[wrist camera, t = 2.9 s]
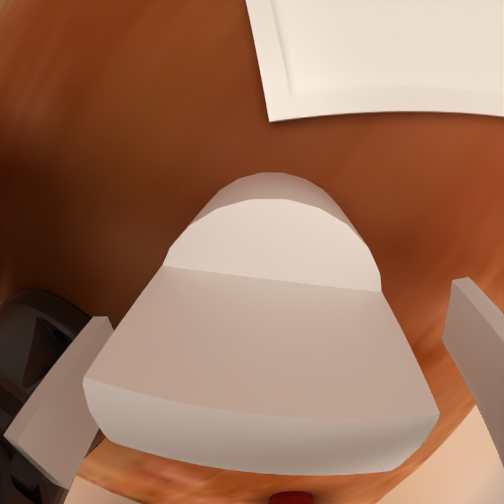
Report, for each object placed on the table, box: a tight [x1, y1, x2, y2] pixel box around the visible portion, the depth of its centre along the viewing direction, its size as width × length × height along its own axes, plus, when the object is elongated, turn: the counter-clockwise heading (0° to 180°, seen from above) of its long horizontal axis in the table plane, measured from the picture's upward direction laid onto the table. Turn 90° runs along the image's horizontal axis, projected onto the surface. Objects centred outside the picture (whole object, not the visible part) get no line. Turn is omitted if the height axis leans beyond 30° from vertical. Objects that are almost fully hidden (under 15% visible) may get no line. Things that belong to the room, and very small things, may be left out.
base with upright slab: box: [83, 173, 440, 475], centre depth 12 cm, size 9×9×12 cm
